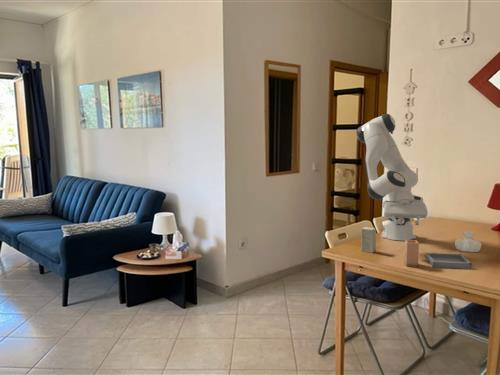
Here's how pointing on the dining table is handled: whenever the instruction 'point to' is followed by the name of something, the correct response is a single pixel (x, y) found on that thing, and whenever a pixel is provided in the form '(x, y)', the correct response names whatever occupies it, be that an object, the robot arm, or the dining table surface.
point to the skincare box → (368, 239)
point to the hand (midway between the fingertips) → (406, 224)
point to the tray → (448, 260)
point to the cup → (411, 253)
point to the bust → (468, 243)
